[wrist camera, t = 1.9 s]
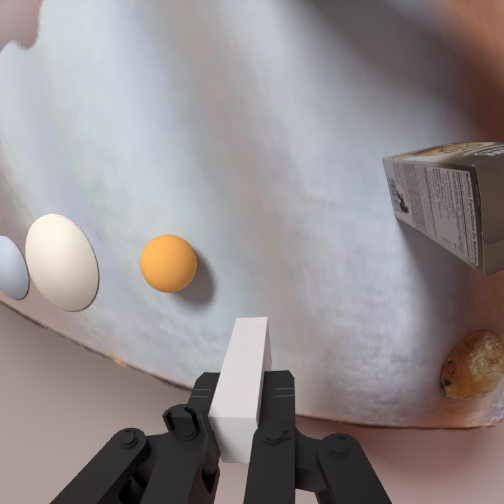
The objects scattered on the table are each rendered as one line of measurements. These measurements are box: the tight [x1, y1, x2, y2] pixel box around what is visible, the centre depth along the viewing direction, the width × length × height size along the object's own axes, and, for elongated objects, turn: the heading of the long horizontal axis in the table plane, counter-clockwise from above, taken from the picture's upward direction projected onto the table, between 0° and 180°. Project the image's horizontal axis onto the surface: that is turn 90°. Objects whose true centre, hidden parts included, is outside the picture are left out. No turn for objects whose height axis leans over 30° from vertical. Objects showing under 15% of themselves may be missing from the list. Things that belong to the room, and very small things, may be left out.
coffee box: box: [383, 142, 504, 276], centre depth 19 cm, size 9×6×16 cm
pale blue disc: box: [0, 236, 29, 299], centre depth 35 cm, size 10×10×1 cm
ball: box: [140, 235, 197, 293], centre depth 29 cm, size 6×6×6 cm
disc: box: [26, 214, 98, 311], centre depth 33 cm, size 13×13×1 cm
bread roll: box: [440, 330, 504, 400], centre depth 30 cm, size 10×10×8 cm
